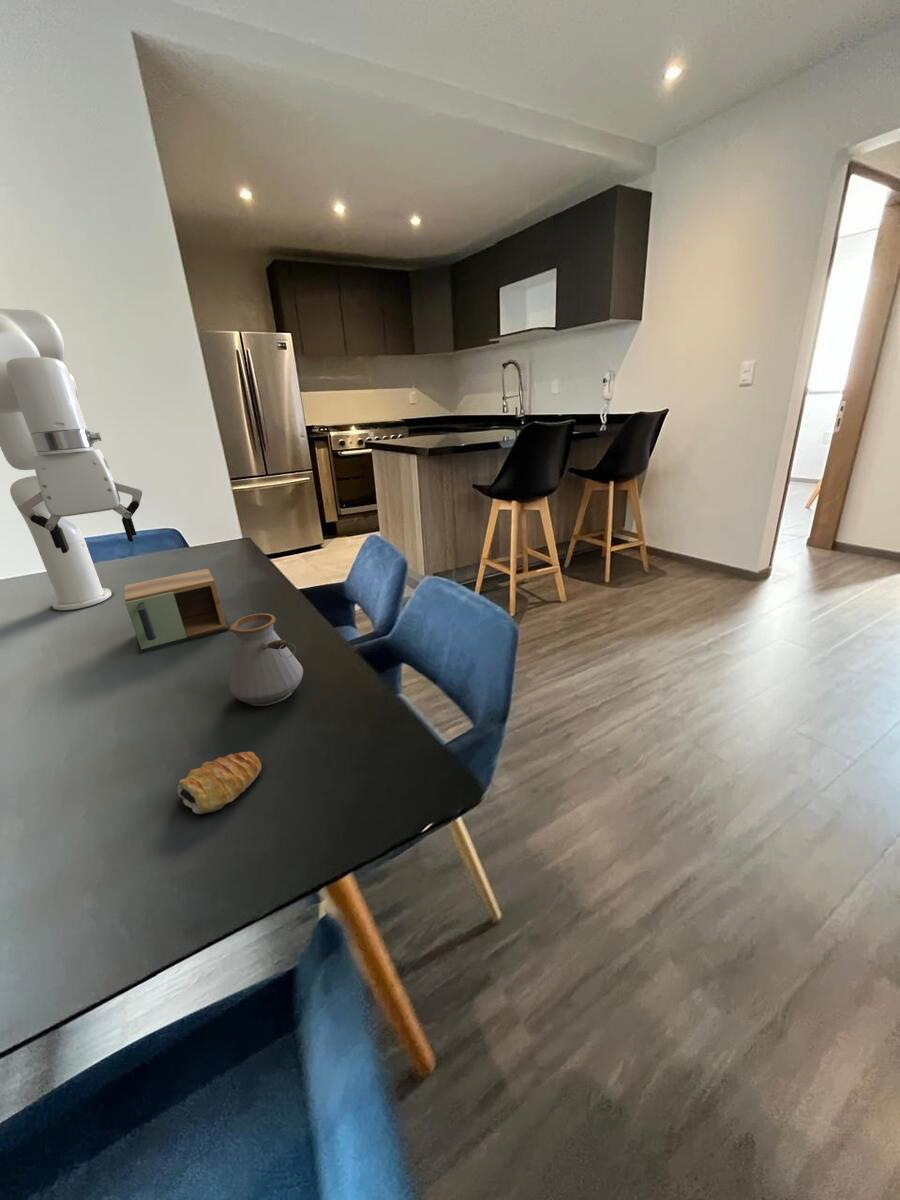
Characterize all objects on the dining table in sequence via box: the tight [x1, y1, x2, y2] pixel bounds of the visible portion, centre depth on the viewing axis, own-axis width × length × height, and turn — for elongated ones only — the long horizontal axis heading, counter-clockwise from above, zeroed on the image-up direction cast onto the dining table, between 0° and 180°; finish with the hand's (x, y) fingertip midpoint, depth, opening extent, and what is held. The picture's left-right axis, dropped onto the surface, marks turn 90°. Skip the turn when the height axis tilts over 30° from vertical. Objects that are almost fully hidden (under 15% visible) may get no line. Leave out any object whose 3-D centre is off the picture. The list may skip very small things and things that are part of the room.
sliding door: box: [124, 592, 187, 650], centre depth 95 cm, size 5×8×10 cm, turn 122°
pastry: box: [176, 751, 262, 815], centre depth 60 cm, size 9×7×4 cm
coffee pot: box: [228, 613, 304, 707], centre depth 74 cm, size 21×12×15 cm, turn 37°
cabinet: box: [124, 568, 229, 653], centre depth 103 cm, size 11×16×11 cm
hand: (99, 545), depth 85 cm, fingers open, 9 cm apart
